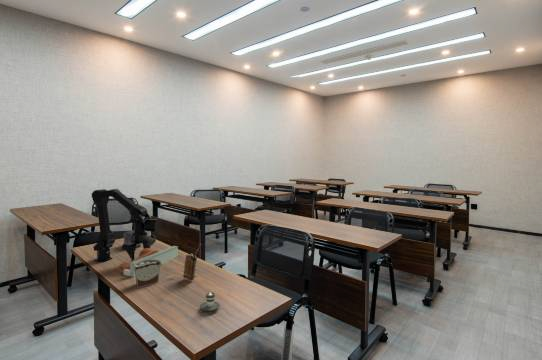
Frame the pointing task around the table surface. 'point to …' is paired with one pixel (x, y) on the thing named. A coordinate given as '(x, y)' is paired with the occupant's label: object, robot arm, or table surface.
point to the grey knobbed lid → (209, 303)
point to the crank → (142, 254)
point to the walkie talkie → (189, 266)
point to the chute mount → (155, 258)
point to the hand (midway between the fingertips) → (139, 258)
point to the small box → (129, 238)
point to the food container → (147, 272)
